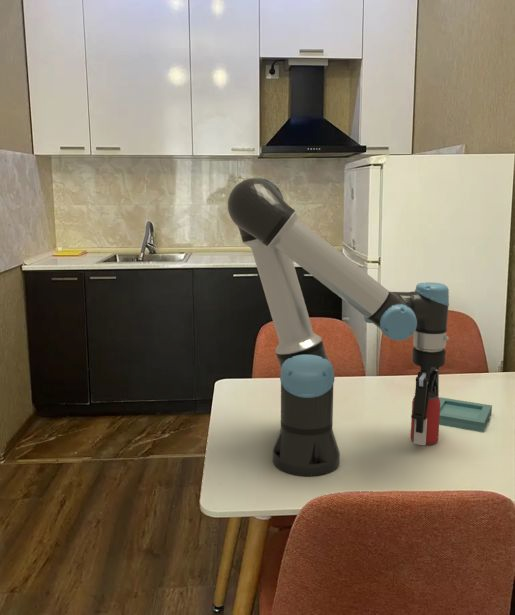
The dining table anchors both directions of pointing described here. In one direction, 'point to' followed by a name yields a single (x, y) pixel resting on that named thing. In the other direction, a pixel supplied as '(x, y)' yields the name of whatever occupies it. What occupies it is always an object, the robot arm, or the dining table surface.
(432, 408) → the beer can
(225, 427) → the dining table surface
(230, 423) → the dining table surface
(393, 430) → the dining table surface
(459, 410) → the coaster
